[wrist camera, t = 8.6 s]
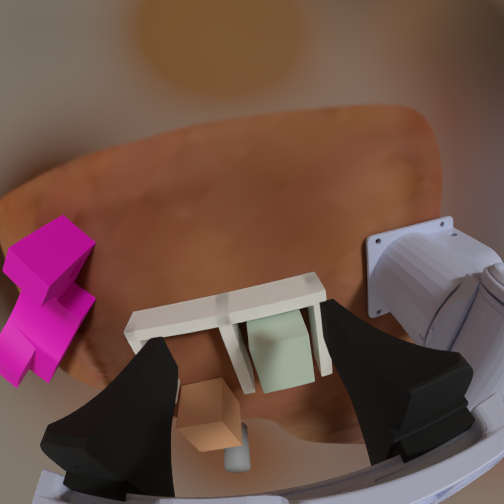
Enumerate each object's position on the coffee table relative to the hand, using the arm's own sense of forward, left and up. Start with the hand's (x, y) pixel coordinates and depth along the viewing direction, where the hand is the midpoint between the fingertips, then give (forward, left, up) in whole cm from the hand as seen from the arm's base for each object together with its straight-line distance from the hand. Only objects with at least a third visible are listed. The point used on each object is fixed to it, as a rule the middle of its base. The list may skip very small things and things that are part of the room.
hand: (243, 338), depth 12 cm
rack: (+2, +8, -10) cm, 13 cm away
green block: (-1, +7, -10) cm, 12 cm away
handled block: (+6, +18, -10) cm, 21 cm away
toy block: (+17, 0, -10) cm, 20 cm away
